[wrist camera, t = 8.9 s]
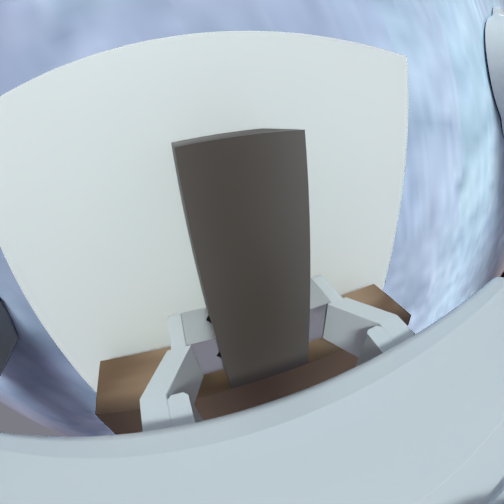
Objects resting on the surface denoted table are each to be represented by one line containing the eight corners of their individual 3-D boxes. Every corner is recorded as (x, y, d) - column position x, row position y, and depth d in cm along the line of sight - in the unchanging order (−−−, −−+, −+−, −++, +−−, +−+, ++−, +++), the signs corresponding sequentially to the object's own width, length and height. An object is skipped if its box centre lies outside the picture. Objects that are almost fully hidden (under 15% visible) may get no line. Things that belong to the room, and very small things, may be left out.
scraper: (382, 124, 10) (437, 132, 7) (366, 325, 15) (396, 357, 12) (23, 189, 7) (-22, 216, 4) (126, 397, 12) (128, 445, 9)
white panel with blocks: (349, 59, 12) (406, 56, 8) (332, 327, 23) (359, 363, 19) (15, 110, 8) (-34, 119, 4) (131, 384, 19) (135, 431, 15)
